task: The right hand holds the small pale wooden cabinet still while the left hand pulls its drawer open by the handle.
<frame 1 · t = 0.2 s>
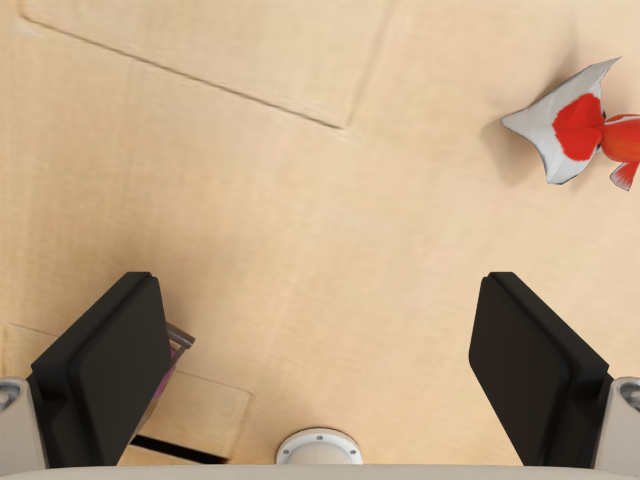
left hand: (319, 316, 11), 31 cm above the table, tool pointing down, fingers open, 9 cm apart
fish: (565, 130, 39), on the table
drawer: (115, 385, 46), point 4 cm above the table, slide at 1.8 cm
cabinet: (108, 393, 52), on the table
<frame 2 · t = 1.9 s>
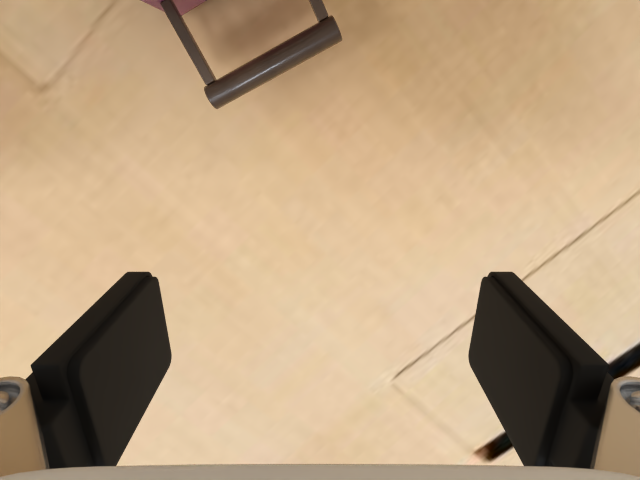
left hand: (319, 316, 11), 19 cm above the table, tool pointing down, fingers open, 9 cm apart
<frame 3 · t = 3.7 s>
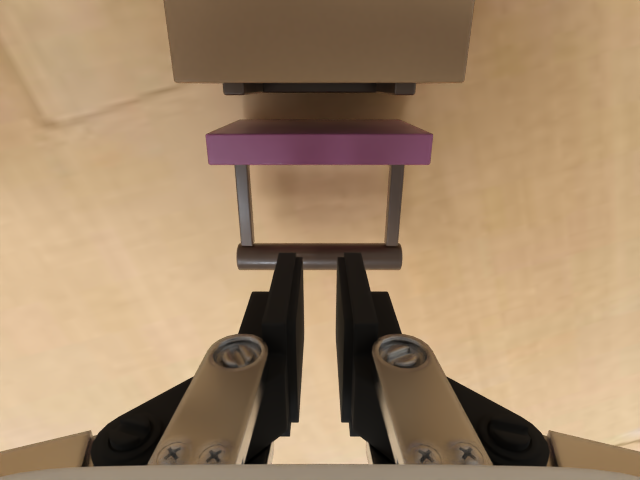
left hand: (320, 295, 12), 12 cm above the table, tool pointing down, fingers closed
drawer: (319, 6, 16), point 4 cm above the table, slide at 1.8 cm
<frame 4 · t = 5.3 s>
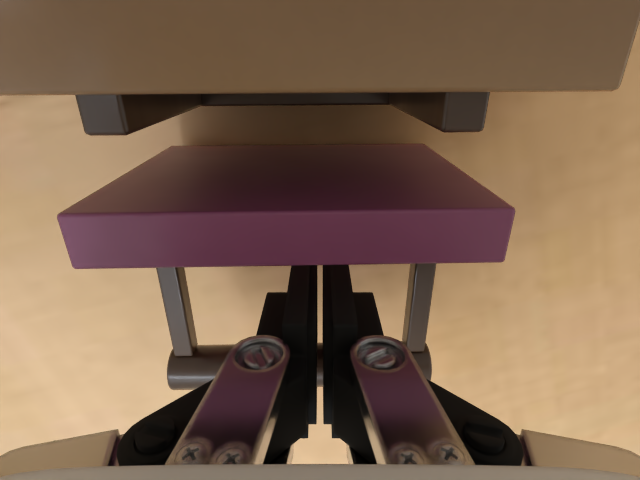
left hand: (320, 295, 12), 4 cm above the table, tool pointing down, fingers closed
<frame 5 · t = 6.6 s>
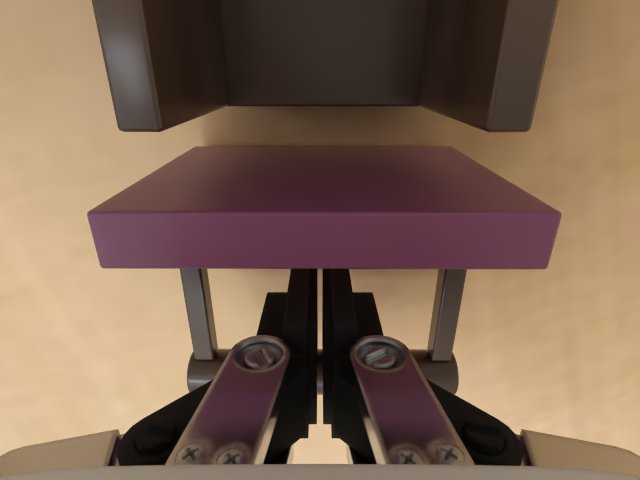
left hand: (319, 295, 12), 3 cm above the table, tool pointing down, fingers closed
when the right hand's fingers open (4 cm above the table, at t = 8.1 s): cabinet stays where it is, on the table.
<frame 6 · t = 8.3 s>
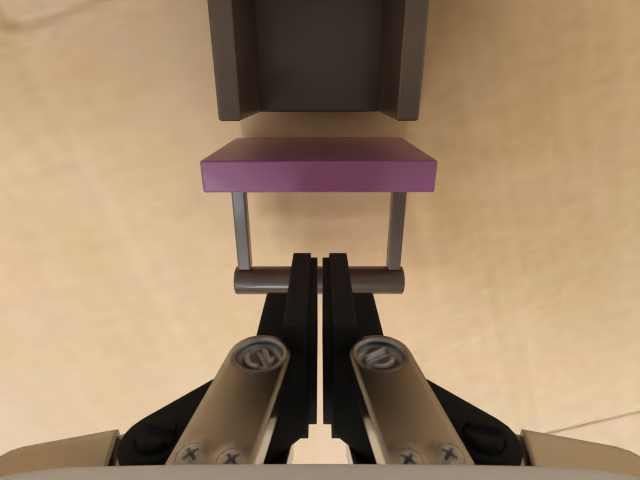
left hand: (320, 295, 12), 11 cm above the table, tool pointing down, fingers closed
drawer: (318, 26, 15), point 4 cm above the table, slide at 7.5 cm
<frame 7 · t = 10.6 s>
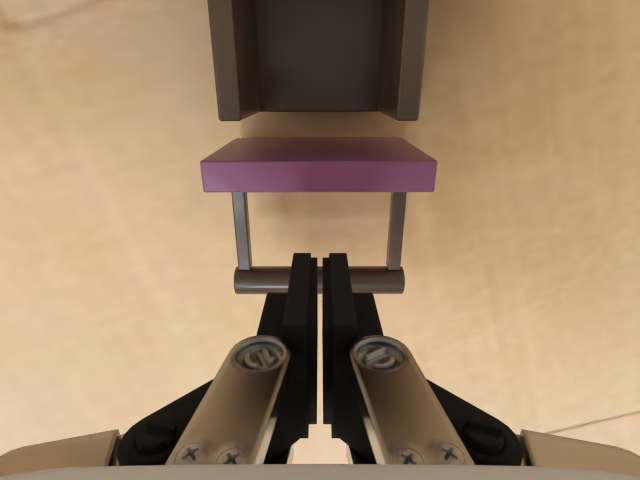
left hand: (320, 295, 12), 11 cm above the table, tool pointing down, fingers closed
drawer: (318, 26, 15), point 4 cm above the table, slide at 7.5 cm
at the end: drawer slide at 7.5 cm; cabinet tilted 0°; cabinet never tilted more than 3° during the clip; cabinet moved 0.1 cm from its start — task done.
